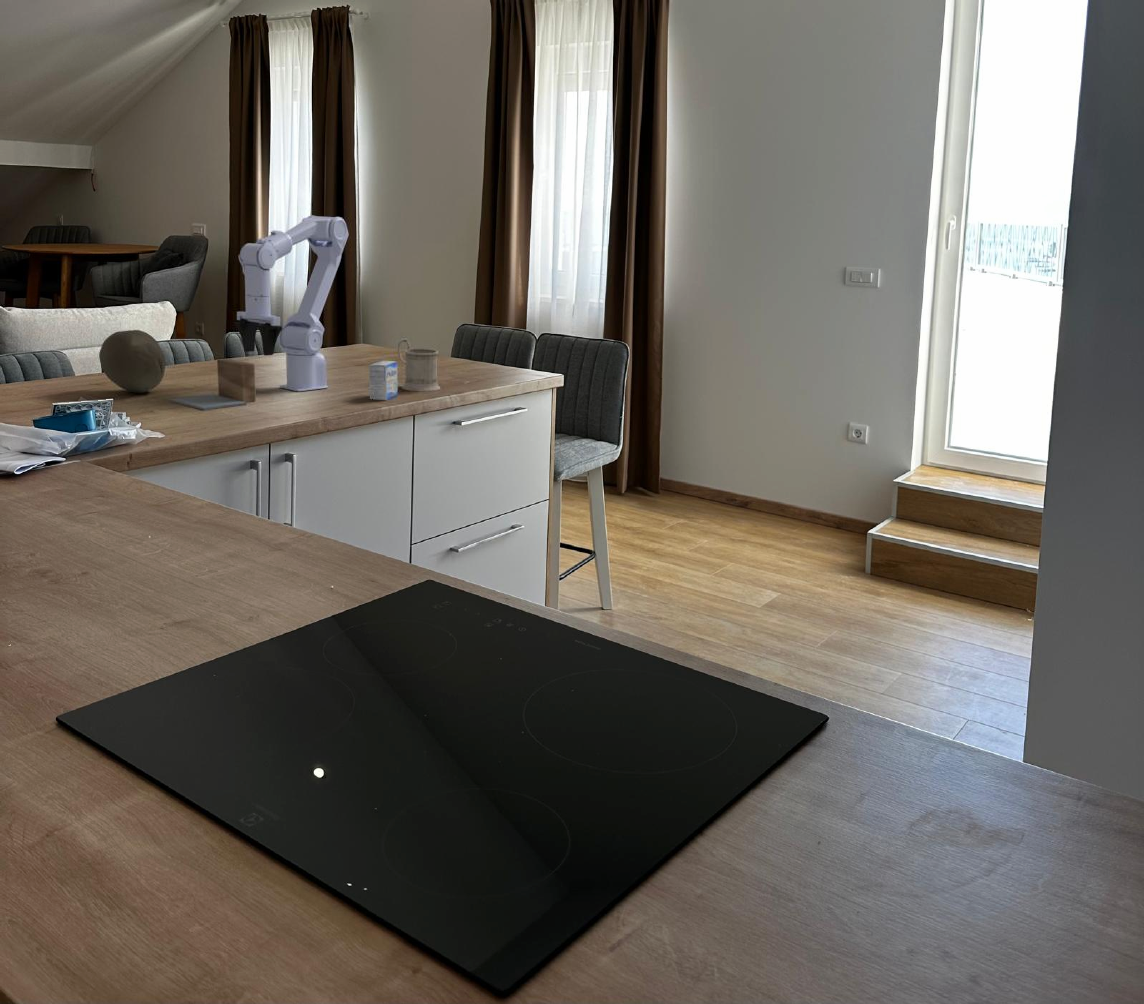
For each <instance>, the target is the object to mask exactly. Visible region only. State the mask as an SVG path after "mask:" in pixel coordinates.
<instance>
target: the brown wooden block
mask: <svg viewBox="0 0 1144 1004" xmlns="http://www.w3.org/2000/svg"><path fill="white" fill-rule="evenodd" d="M216 362H217V363H216V364H217V385H218V386H217V387H218V396H222V397H226V398H230V399H234V400H238V401H242V402H246V404H248V403H249V404H250V403H255V402H256V400H257V398H256V372H255V371H256V369H255V364H254V363H251V362H246V361H241V360H237V359H233V358H224V359H223V358H222V359H216Z"/></svg>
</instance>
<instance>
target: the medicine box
mask: <svg viewBox="0 0 1144 1004" xmlns="http://www.w3.org/2000/svg"><path fill="white" fill-rule="evenodd" d="M368 370H369V373H368V376H369V377H368V378H369V399H370V400H372V399H373V400H372V401H384V402H386V401H389V400H391V399H393V398H395V397H397V396H398V362H397V361H396V360H395V361H394V360H393V361H392V360H380V361H377V362H375V363H372V364H369V369H368ZM388 399H389V400H388Z"/></svg>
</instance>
